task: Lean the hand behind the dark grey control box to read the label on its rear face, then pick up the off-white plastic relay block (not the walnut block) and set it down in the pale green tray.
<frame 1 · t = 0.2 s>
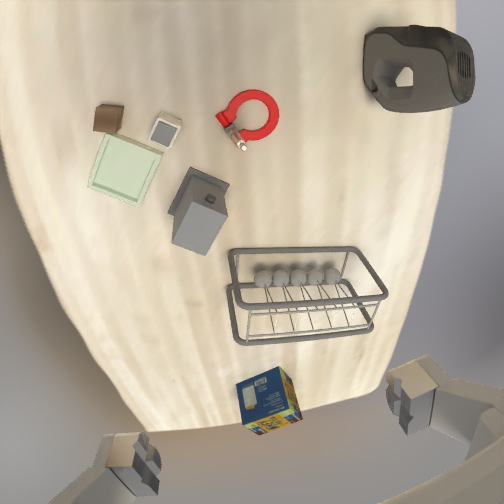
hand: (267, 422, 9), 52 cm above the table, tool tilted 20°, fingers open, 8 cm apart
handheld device: (377, 63, 50), on the table
newton's cradle: (292, 265, 73), on the table
control box: (198, 198, 60), on the table
tray: (124, 167, 54), on the table
walnut block: (111, 116, 48), on the table
tow hook: (249, 115, 53), on the table
relay block: (166, 126, 52), on the table
protein box: (263, 381, 98), on the table
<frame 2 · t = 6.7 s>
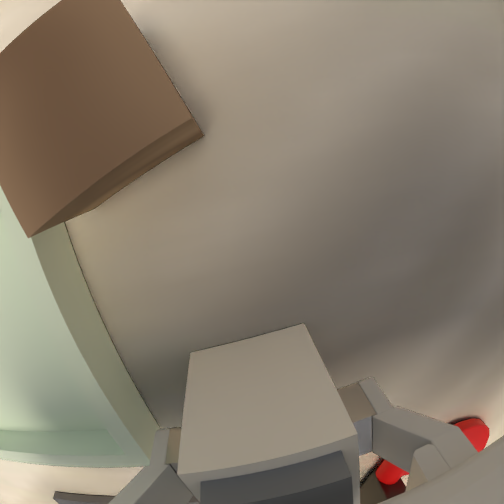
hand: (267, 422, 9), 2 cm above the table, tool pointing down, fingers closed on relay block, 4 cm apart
tray: (1, 341, 10), on the table
walnut block: (115, 118, 9), on the table
tow hook: (422, 464, 15), on the table
relay block: (260, 382, 11), on the table, touching gripper
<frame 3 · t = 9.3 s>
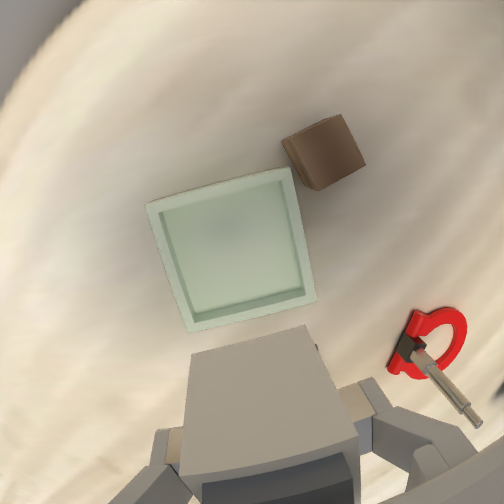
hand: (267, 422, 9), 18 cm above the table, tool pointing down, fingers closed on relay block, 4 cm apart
tray: (234, 248, 26), on the table
walnut block: (314, 152, 25), on the table
tow hook: (429, 341, 31), on the table
relay block: (261, 383, 11), point 16 cm above the table, touching gripper
when the fingers open (4 cm above the table, at t = 12.2 s): relay block drops 1 cm, resting on tray.
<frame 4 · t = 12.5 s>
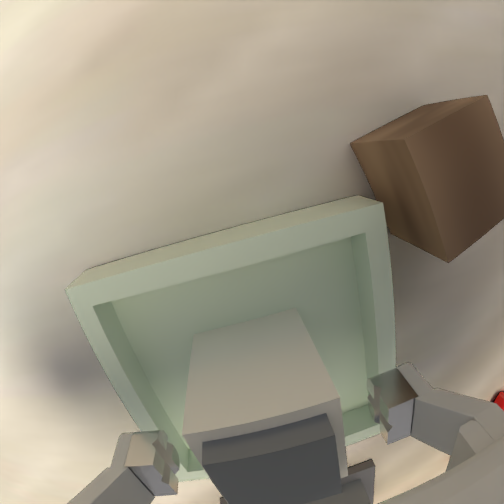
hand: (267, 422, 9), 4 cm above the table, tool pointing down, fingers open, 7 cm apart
tray: (254, 354, 13), on the table
walnut block: (408, 167, 12), on the table
relay block: (256, 362, 13), point 1 cm above the table, touching tray
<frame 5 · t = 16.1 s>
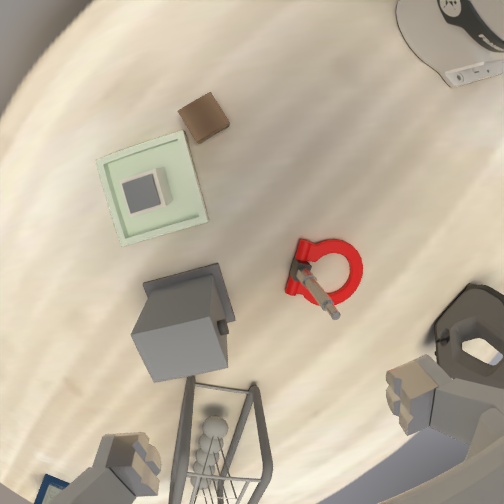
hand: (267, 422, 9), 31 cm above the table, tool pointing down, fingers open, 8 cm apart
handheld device: (454, 315, 47), on the table
newton's cradle: (207, 437, 49), on the table
control box: (189, 301, 41), on the table
tray: (153, 188, 37), on the table
walnut block: (205, 120, 35), on the table
tow hook: (325, 270, 42), on the table
relay block: (152, 188, 36), point 1 cm above the table, touching tray
protein box: (75, 492, 53), on the table
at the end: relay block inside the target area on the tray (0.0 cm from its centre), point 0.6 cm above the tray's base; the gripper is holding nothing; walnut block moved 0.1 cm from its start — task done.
